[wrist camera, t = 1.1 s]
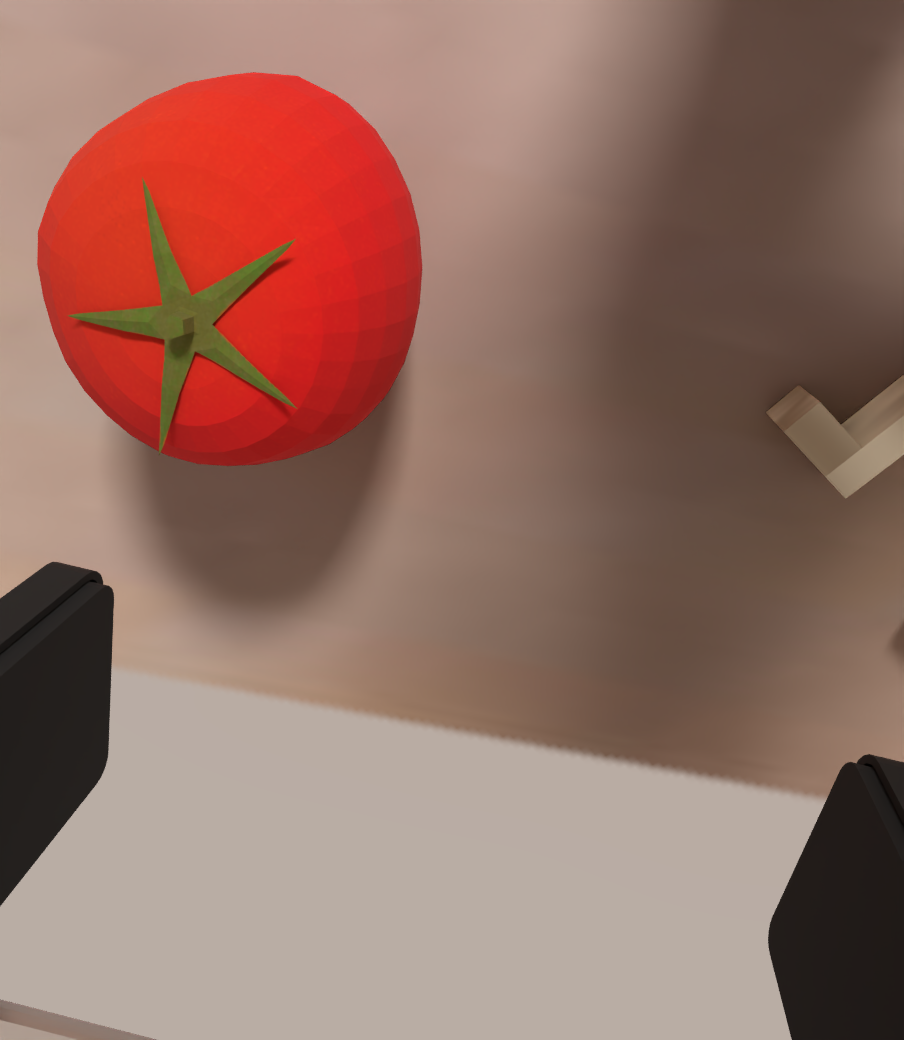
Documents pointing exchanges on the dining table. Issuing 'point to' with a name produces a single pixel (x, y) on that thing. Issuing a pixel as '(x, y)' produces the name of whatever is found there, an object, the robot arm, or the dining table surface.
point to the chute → (845, 435)
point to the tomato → (233, 269)
